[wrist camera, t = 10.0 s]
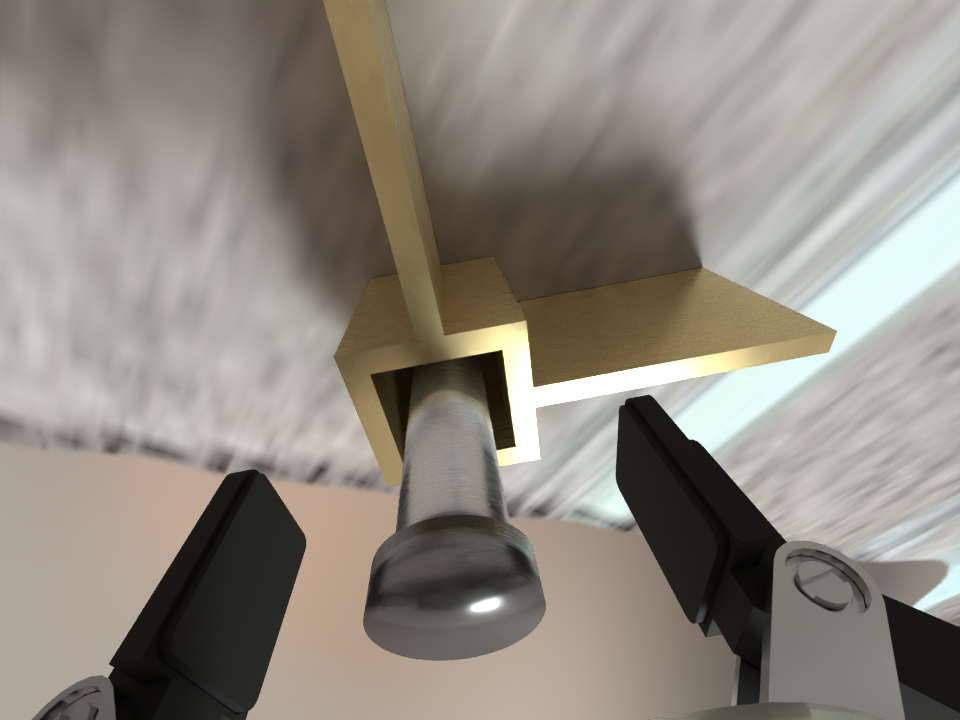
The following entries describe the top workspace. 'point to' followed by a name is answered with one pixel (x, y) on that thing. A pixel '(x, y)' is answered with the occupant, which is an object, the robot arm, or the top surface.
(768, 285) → the top surface
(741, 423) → the top surface
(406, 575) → the pin
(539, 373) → the hinge
